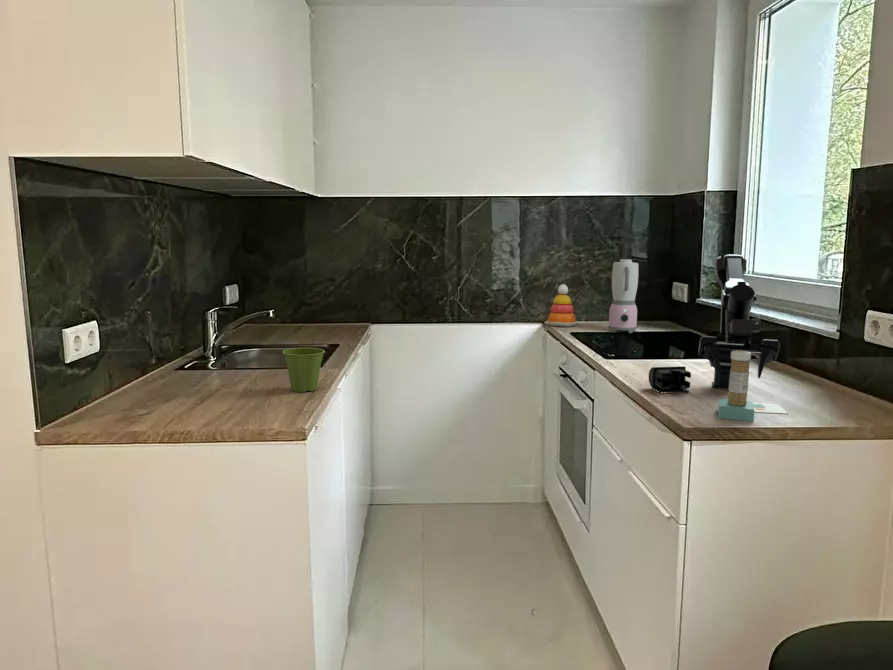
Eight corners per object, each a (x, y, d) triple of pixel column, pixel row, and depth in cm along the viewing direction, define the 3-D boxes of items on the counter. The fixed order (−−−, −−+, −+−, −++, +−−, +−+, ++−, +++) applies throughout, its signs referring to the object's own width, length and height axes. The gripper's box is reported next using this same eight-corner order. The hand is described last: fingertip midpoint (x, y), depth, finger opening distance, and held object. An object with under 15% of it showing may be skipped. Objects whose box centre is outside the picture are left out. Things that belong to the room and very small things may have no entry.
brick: (717, 409, 176) (718, 398, 176) (751, 413, 174) (752, 401, 173) (718, 418, 169) (719, 406, 169) (753, 421, 166) (754, 409, 166)
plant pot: (325, 394, 190) (324, 354, 188) (282, 395, 188) (280, 355, 186) (326, 384, 201) (325, 346, 199) (285, 385, 199) (283, 347, 197)
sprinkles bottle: (738, 401, 174) (742, 349, 172) (750, 405, 169) (755, 352, 167) (723, 402, 172) (727, 350, 170) (735, 406, 168) (739, 353, 166)
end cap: (678, 386, 202) (680, 364, 201) (691, 392, 195) (692, 369, 194) (647, 387, 200) (648, 365, 199) (658, 393, 193) (660, 370, 192)
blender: (607, 328, 313) (610, 258, 308) (634, 329, 311) (638, 259, 306) (609, 333, 297) (613, 260, 292) (638, 334, 295) (642, 261, 290)
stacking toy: (573, 328, 312) (575, 286, 309) (543, 326, 317) (544, 285, 314) (579, 324, 325) (580, 283, 322) (549, 322, 330) (551, 282, 327)
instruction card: (730, 402, 184) (730, 401, 184) (777, 405, 182) (777, 403, 182) (738, 411, 175) (738, 410, 175) (788, 414, 173) (788, 413, 173)
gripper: (702, 304, 173) (702, 355, 165) (782, 308, 168) (786, 360, 159) (698, 330, 182) (698, 379, 173) (774, 334, 177) (778, 385, 168)
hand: (739, 375), depth 168 cm, fingers open, 9 cm apart
